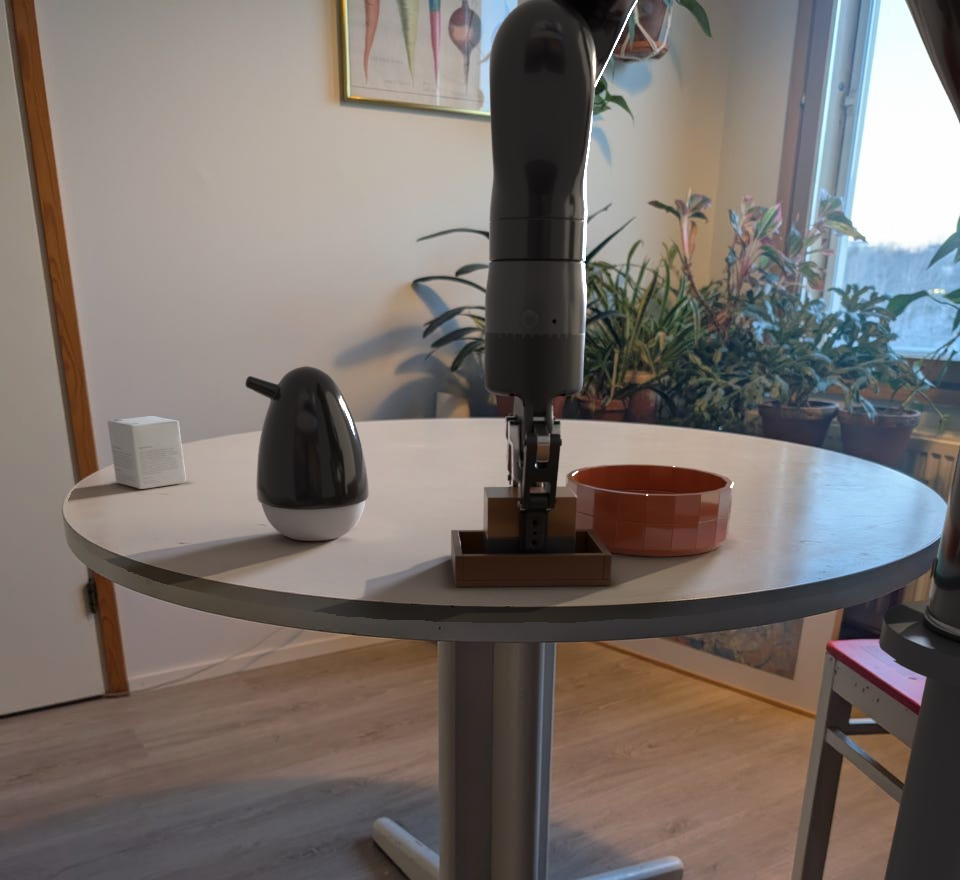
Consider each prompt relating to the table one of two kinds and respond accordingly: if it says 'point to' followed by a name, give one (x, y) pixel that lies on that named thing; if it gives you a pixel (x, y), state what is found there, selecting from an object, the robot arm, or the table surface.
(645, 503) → the bowl
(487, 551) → the eraser
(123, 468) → the product carton
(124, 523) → the table surface
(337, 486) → the pump dispenser
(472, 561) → the tray
